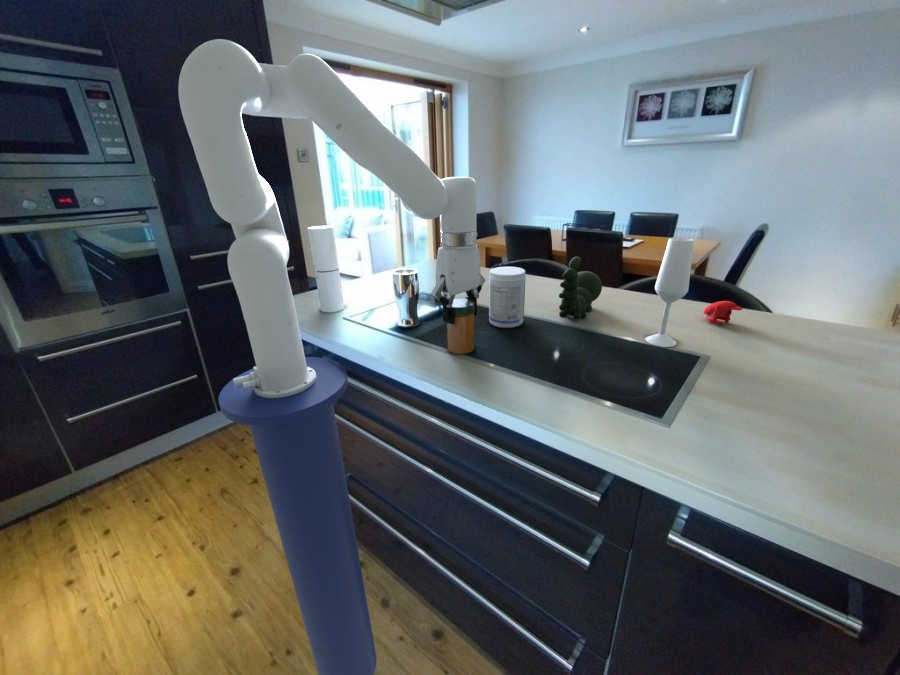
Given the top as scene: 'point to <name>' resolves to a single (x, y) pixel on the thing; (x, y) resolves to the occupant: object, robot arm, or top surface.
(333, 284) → the cylindrical container
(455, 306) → the lid
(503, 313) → the supplement tub
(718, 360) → the top surface
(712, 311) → the red animal figurine
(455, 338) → the jar
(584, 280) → the toy figurine
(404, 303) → the beer glass
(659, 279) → the champagne flute
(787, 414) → the top surface
